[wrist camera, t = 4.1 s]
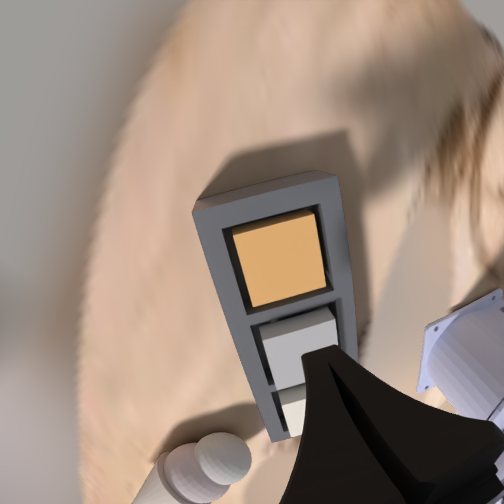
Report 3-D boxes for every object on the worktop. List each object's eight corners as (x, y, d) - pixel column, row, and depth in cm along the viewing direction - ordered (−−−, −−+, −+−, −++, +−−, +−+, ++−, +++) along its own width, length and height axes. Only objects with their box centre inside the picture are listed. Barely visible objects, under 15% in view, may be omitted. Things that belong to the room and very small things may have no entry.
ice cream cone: (125, 475, 23) (229, 407, 24) (162, 518, 21) (275, 458, 21) (90, 494, 17) (203, 424, 18) (133, 544, 15) (262, 488, 16)
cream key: (335, 374, 17) (341, 387, 16) (338, 408, 18) (344, 421, 17) (277, 391, 17) (281, 405, 16) (287, 424, 18) (291, 437, 17)
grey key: (327, 307, 15) (335, 319, 14) (333, 357, 16) (340, 370, 15) (258, 326, 15) (262, 340, 14) (273, 376, 16) (276, 390, 15)
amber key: (306, 208, 14) (313, 214, 13) (318, 276, 15) (325, 286, 14) (231, 228, 14) (232, 235, 13) (250, 295, 15) (253, 307, 14)
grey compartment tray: (315, 170, 15) (337, 176, 13) (345, 389, 21) (359, 416, 18) (196, 200, 15) (191, 212, 13) (265, 412, 21) (272, 442, 18)
